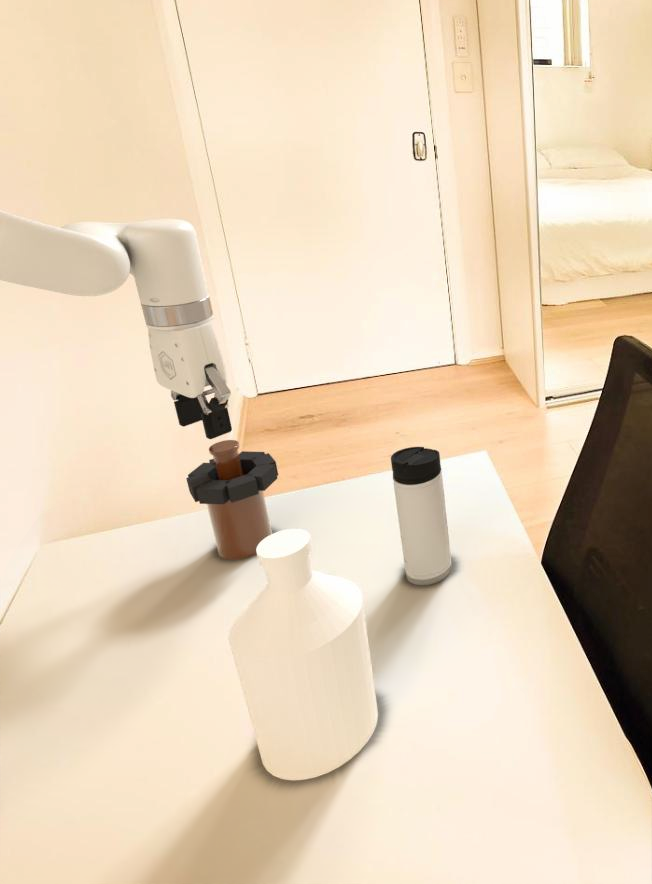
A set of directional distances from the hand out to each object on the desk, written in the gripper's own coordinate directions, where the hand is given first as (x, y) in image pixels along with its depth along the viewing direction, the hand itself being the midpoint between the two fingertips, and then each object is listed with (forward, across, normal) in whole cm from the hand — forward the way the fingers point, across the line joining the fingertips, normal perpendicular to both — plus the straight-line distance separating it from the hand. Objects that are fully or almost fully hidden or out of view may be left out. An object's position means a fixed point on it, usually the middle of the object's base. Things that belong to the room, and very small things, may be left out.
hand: (205, 427), depth 100 cm
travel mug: (+19, +32, +10) cm, 39 cm away
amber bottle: (+19, +4, 0) cm, 19 cm away
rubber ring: (+8, +4, 0) cm, 9 cm away
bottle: (+19, +43, -14) cm, 49 cm away
